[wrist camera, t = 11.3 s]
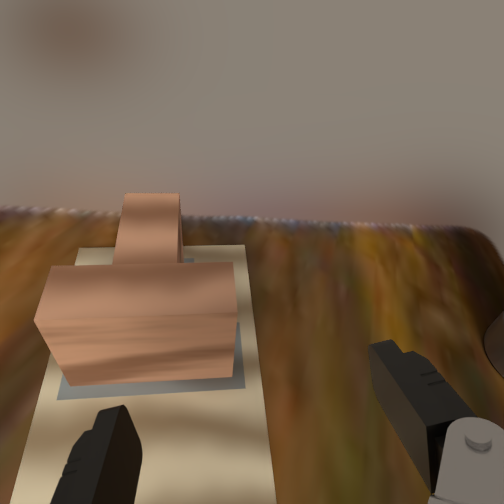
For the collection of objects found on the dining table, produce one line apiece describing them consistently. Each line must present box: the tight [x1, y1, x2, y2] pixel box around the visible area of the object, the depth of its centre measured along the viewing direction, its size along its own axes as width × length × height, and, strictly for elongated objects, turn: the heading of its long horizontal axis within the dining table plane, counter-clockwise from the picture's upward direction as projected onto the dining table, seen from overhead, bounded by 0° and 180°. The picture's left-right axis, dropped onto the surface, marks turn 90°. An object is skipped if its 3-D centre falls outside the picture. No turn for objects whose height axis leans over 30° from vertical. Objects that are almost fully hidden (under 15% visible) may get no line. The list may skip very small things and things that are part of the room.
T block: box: [34, 193, 238, 387], centre depth 37 cm, size 14×14×10 cm
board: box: [10, 245, 277, 504], centre depth 37 cm, size 29×19×1 cm, turn 6°
